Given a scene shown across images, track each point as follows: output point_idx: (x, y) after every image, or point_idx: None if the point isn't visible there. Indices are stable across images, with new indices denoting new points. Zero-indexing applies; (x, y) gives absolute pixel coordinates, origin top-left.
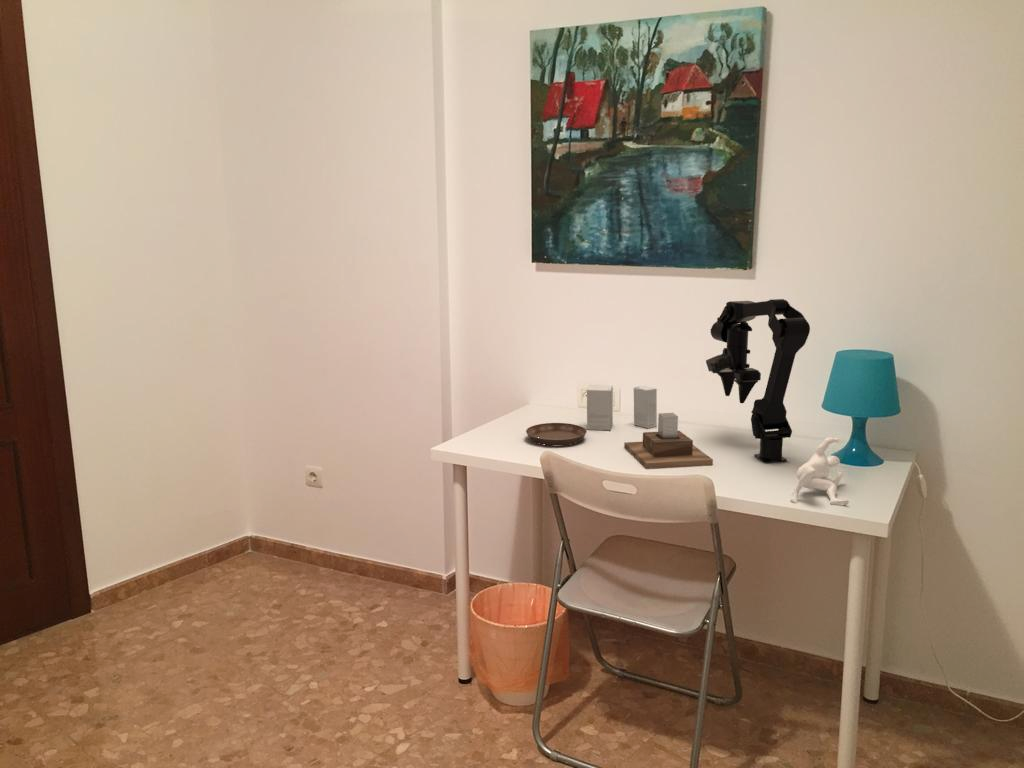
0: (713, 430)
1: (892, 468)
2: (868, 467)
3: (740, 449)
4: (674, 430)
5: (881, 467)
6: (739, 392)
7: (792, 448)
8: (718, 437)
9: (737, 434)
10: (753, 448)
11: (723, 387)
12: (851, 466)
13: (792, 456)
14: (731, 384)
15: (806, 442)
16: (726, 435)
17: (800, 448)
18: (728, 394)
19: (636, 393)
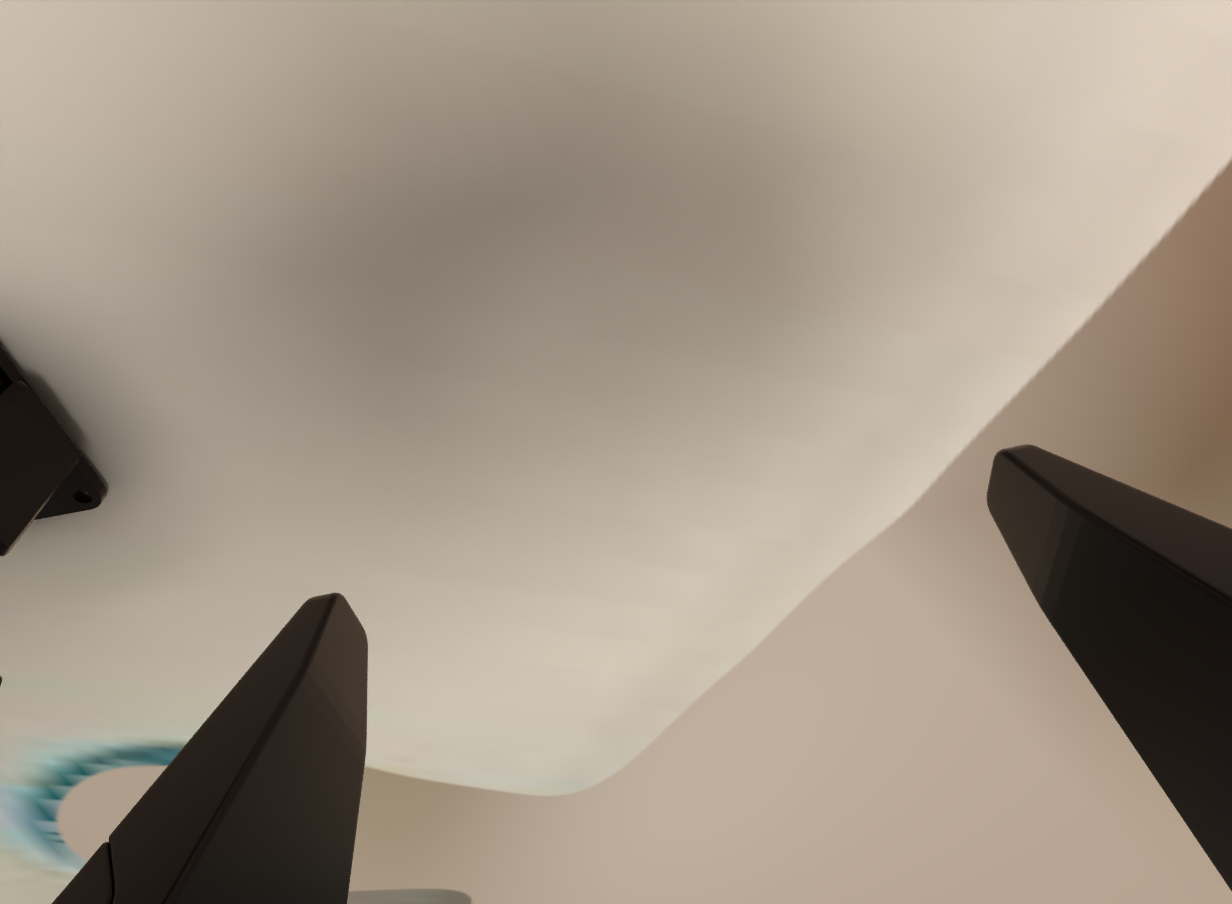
0: (1018, 114)
1: (55, 898)
2: (23, 842)
3: (237, 233)
4: None
5: (53, 874)
6: (172, 821)
7: (366, 612)
8: (730, 99)
9: (805, 325)
10: (308, 363)
11: (1228, 530)
12: (4, 796)
13: (125, 583)
14: (1164, 741)
15: (531, 691)
16: (792, 212)
17: (374, 649)
18: (1008, 509)
19: None
